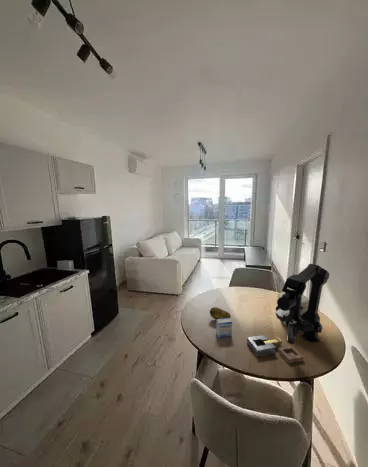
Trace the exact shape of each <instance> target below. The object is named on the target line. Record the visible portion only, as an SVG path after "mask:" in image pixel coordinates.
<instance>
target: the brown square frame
mask: <svg viewBox="0 0 368 467" xmlns="http://www.w3.org/2000/svg"><path fill="white" fill-rule="evenodd" d="M277 352H278V354H279V355H280V356H281V357H282V359H284V360H285V362H286V363H287V364H293V363H297V362H303V361H304V355H302V354H301V353H300V352H299V351H298V350H297V349H296V348H295V347H294V346H293V345H288V346H282V347H277Z"/></svg>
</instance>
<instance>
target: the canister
mask: <svg viewBox="0 0 368 467" xmlns="http://www.w3.org/2000/svg"><path fill="white" fill-rule="evenodd" d="M283 294H285V292H283V291H281V292H279V293H277V294H276V296H277V300H278V299H279V298H281V297H282V295H283ZM309 298H310V297H307V296H306V295H305V294H303V295H302V300H301V306H302V307H303V309H301V312H300V314H301V315H303V313H305V312H306V311H307V309H308V304H309ZM301 318H302V317H301ZM301 318H300V319H301ZM281 323H282V324H283V325H285V326H286V322H281Z"/></svg>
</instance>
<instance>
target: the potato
mask: <svg viewBox="0 0 368 467" xmlns="http://www.w3.org/2000/svg"><path fill="white" fill-rule="evenodd" d="M209 314H210V317H211V318H212V319H214V320H215V321H216V320H217V319H225V318H230V319H231V317H232V316H231V314H230V313H229V311H227V310H224V309H222V308H219V307H217V306H214V307H211V308H210V309H209Z"/></svg>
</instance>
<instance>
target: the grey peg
mask: <svg viewBox="0 0 368 467" xmlns="http://www.w3.org/2000/svg"><path fill="white" fill-rule="evenodd" d="M291 324H295V321H293V320H290V321H289V322H288V330H287V334H286V335H287V336H286V342H287V343H288V344H289V345H295V344H296V338H297V335H296V336H294V335H293V326H292V325H291Z"/></svg>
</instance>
